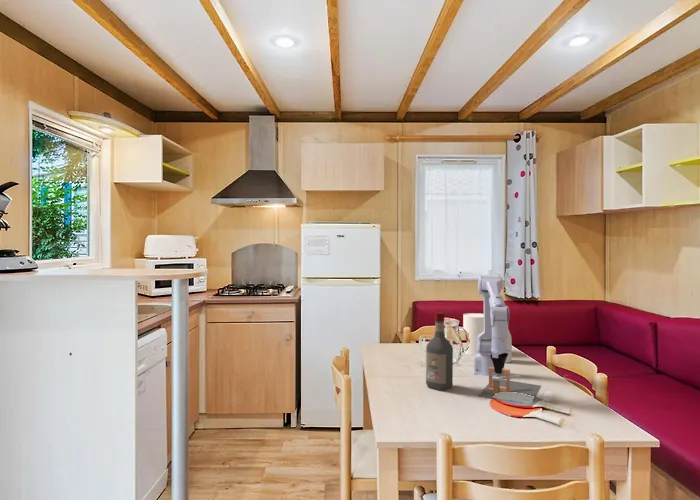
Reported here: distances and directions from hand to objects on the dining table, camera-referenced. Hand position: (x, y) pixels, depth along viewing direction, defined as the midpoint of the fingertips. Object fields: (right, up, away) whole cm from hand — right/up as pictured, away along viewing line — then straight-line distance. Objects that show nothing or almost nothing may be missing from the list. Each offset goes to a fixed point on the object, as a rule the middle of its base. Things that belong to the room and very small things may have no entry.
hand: (499, 372), depth 170 cm
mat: (+6, -8, +3) cm, 10 cm away
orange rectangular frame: (+1, -7, +1) cm, 7 cm away
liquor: (-22, -8, +8) cm, 24 cm away
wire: (+3, -8, +1) cm, 8 cm away
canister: (+10, -7, +64) cm, 65 cm away
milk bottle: (+18, -8, +47) cm, 51 cm away
